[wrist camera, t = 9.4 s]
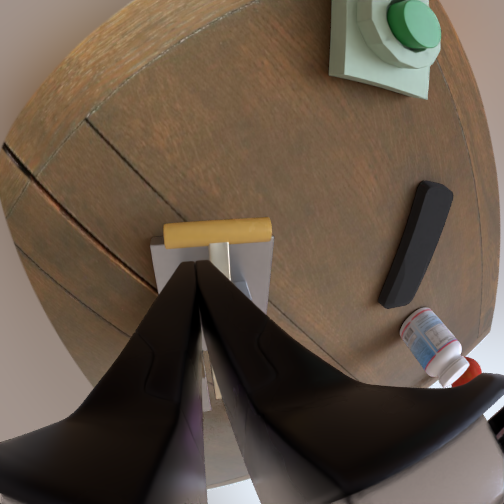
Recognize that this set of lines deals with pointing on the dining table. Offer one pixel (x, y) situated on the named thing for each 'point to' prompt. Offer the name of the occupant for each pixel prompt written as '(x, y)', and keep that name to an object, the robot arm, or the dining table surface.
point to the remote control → (417, 244)
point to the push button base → (376, 49)
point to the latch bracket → (241, 268)
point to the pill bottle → (434, 346)
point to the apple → (468, 373)
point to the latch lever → (217, 243)
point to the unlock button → (414, 24)
